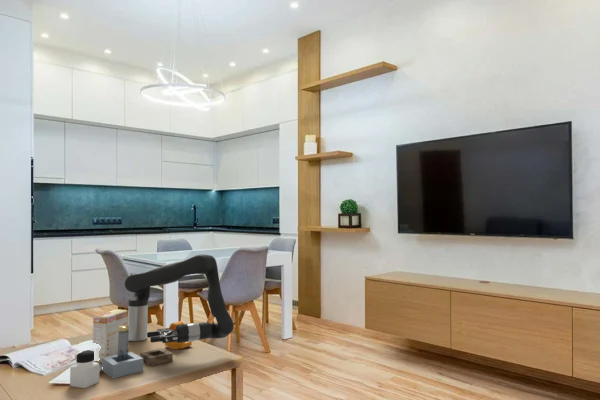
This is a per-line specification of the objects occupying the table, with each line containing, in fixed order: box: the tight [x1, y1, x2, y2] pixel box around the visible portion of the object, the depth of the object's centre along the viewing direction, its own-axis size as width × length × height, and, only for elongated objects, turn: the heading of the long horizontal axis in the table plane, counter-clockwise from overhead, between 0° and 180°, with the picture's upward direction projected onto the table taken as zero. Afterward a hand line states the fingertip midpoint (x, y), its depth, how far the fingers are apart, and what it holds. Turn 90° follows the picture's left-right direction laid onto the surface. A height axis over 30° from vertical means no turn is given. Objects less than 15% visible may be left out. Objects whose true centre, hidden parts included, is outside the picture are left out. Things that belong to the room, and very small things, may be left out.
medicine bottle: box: [69, 349, 100, 389], centre depth 166 cm, size 7×7×12 cm
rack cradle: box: [101, 351, 144, 379], centre depth 180 cm, size 12×12×5 cm
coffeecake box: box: [92, 308, 128, 363], centre depth 198 cm, size 15×7×20 cm, turn 164°
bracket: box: [164, 320, 193, 350], centre depth 214 cm, size 11×7×12 cm, turn 62°
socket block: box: [139, 348, 174, 366], centre depth 194 cm, size 10×10×3 cm
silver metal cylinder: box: [118, 326, 130, 362], centre depth 181 cm, size 4×4×16 cm
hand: (148, 337), depth 186 cm, fingers open, 8 cm apart
